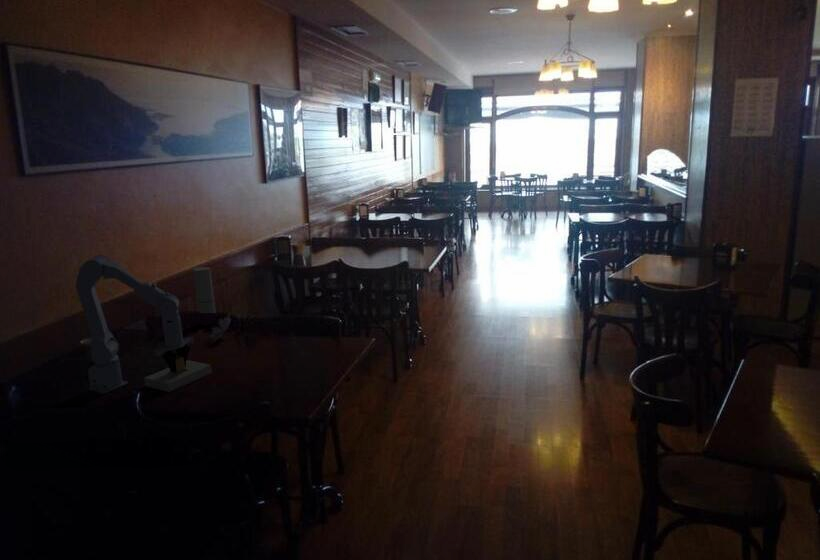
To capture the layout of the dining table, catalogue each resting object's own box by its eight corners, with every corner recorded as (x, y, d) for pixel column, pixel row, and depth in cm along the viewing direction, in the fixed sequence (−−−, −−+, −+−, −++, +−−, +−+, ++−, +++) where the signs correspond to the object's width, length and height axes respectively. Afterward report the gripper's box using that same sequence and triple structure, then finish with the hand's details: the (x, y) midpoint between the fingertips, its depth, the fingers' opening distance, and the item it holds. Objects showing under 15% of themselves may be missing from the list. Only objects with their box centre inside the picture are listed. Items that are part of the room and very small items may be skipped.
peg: (177, 376, 210) (175, 360, 209) (170, 375, 212) (168, 358, 210) (185, 373, 213) (183, 356, 212) (179, 371, 215) (176, 355, 213)
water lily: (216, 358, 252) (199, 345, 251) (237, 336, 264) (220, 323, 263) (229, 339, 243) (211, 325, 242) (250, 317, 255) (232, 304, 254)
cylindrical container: (218, 321, 280) (212, 266, 274) (214, 325, 273) (207, 270, 267) (202, 321, 280) (195, 267, 274) (198, 326, 273) (190, 271, 267)
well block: (169, 392, 202) (168, 383, 201) (145, 386, 208) (144, 377, 207) (212, 372, 217) (211, 364, 217) (188, 367, 223) (187, 359, 223)
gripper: (162, 339, 201) (168, 378, 204) (198, 326, 213) (202, 364, 216) (148, 336, 204) (154, 375, 207) (183, 324, 216) (188, 361, 219)
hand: (178, 369), depth 212 cm, fingers closed on peg, 3 cm apart
